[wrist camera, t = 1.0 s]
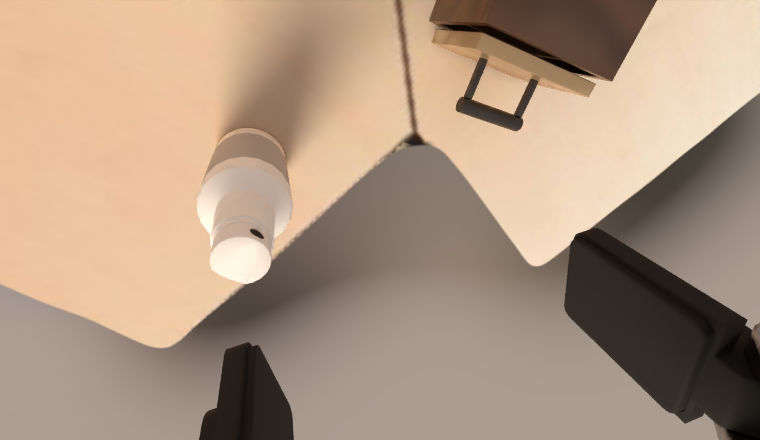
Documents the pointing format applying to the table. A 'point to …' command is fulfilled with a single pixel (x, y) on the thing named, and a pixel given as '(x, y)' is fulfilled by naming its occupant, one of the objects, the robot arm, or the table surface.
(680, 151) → the table surface
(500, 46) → the drawer
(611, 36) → the cabinet
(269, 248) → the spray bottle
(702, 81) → the table surface
